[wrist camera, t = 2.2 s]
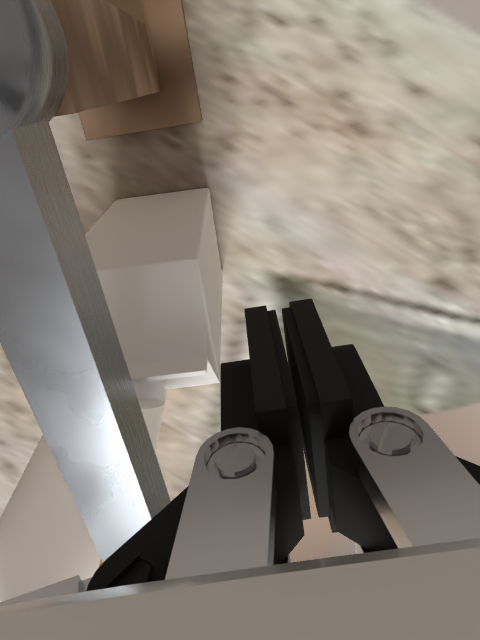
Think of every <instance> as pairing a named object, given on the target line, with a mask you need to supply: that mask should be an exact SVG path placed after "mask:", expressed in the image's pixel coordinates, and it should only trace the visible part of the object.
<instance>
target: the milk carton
mask: <svg viewBox="0 0 480 640" xmlns="http://www.w3.org/2000/svg"><path fill="white" fill-rule="evenodd" d="M85 237H86V240H87V243H88V246H89V249H90V252H91V256H92V259H93V262H94V265H95V268H96V271H97V274H98V277H99V280H100V283H101V287H102V290H103V293H104V296H105V299H106V302H107V305H108V308H109V311H110V315H111V318H112V321H113V324H114V327H115V330H116V333H117V336H118V339H119V342H120V346H121V349H122V352H123V355H124V358H125V361H126V364H127V367H128V370H129V374H130V377H131V380H132V383H133V386H134V389H135V392H136V395H137V398H138V402H139V405H140V408H141V410H144V409H152V408H157V407H160V406H162V405H164V404H165V394H164V390H165V389H172V388H180V387H189V386H198V385H206V384H214V383H219V382H220V348H221V309H222V270H221V263H220V257H219V250H218V244H217V237H216V231H215V224H214V218H213V211H212V205H211V198H210V192H209V189H208V188H201V189H193V190H185V191H178V192H170V193H163V194H155V195H147V196H140V197H132V198H125V199H119V200H116V201H115V202H114V203H113V204H112V205H111V206H110V207H109V208H108V210H107V211H106V212H105V213H104V214H103V215H102V216H101V217H100V219H99V220H98V221H97V222H96V223H95V224H94V225H93V226H92V228H91V229H90V230H89V231H88V232H87V233H86V234H85Z"/></svg>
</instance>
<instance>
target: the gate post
mask: <svg viewBox="0 0 480 640" xmlns="http://www.w3.org/2000/svg"><path fill="white" fill-rule="evenodd" d="M49 1H50V3H51V5H52V6H53V8H54V10H55V12H56V14H57V16H58V18H59V21H60V23H61V26H62V29H63V32H64V35H65V39H66V43H67V47H68V55H69V78H68V85H67V89H66V93H65V96H64V99H63V101H62V104H61V106H60V108H59V109H58V111H57V112H56V114H55V115H54V117H55V116H61V115H67V114H73V113H77V112H78V113H79V116H80V119H81V123H82V126H83V130H84V133H85V137H86V140H87V141H88V140H94V139H100V138H106V137H112V136H118V135H124V134H130V133H136V132H142V131H148V130H154V129H160V128H166V127H172V126H178V125H184V124H190V123H196V122H202V115H201V109H200V104H199V98H198V92H197V86H196V81H195V75H194V69H193V64H192V58H191V52H190V46H189V41H188V35H187V29H186V23H185V18H184V12H183V6H182V1H181V0H49Z"/></svg>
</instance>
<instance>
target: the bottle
mask: <svg viewBox="0 0 480 640" xmlns="http://www.w3.org/2000/svg"><path fill="white" fill-rule="evenodd" d="M164 394H165V400H166V394H167V389H165V390H164ZM164 405H165V404H164ZM164 405H162V406H160V407H157V408H152V409H144V410H141V411H142V414H143V417H144V420H145V423H146V426H147V429H148V433H149V436H150V439H151V442H152V445H153V448H154V451H155V452H156V447H157V441H158V436H159V431H160V426H161V421H162V415H163V410H164ZM100 560H101V557H100V555H99V553H98V551H97V549H96V547H95V544H94V542H93V540H92V538H91V536H90V534H89V532H88V529H87V527H86V525H85V523H84V521H83V519H82V517H81V514H80V512H79V510H78V508H77V506H76V504H75V502H74V499H73V497H72V495H71V493H70V491H69V489H68V486H67V484H66V482H65V480H64V478H63V476H62V474H61V471H60V469H59V467H58V465H57V463H56V461H55V459H54V456H53V454H52V452H51V450H50V448H49V446H48V444H47V441H46V439H45V437H44V435H43V436H42V438H41V440H40V442H39V444H38V446H37V448H36V450H35V451H34V453H33V455H32V457H31V459H30V461H29V463H28V465H27V467H26V469H25V471H24V473H23V475H22V477H21V479H20V481H19V483H18V485H17V487H16V489H15V491H14V492H13V494H12V496H11V498H10V500H9V502H8V504H7V506H6V508H5V510H4V512H3V515H2V517H1V519H0V602H3V601H6V600H9V599H11V598H14V597H17V596H20V595H23V594H26V593H28V592H31V591H34V590H37V589H40V588H43V587H45V586H48V585H51V584H54V583H57V582H59V581H62V580H65V579H68V578H71V577H74V576H76V575H79V576H80V578H81V580H85V579H88V578H91V577H93V575H94V573H95V571H96V570H97V569H98V568H99V564H100Z"/></svg>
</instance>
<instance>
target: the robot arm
mask: <svg viewBox="0 0 480 640" xmlns="http://www.w3.org/2000/svg"><path fill="white" fill-rule="evenodd" d="M289 305H290V308H284V309H282V316H283V324H284V332H285V341H286V349H287V357H288V362H287V357H286V353H285V349H284V345H283V340H282V336H281V332H280V328H279V323H278V319H277V315H276V311H275V310H271V311H267V309H266V306H260V307H253V308H247V309H245V318H246V327H247V337H248V346H249V356H250V359H248V360H241V361H235V362H228V363H221V432H218V433H216V434H215V435H213V436H212V437H210V438H209V439H207V440H206V441H205V442H204V444H203V445H202V446H201V447H200V449H199V451H198V453H197V455H196V459H195V463H194V467H193V471H192V475H191V479H190V483H189V486H188V487H187V488H186V489H185V490H184V491H182V492H181V493H180V494H179V495H178V496H177V497H176V498H175V499H173V500H172V501H171V502H170V503H169V504H168V505H167V506H166V507H165V508H163V509H162V510H161V511H160V512H159V513H158V514H157V515H156V516H154V517H153V518H152V519H151V520H150V521H149V522H148V523H147V524H145V525H144V526H143V527H142V528H141V529H140V530H139V531H138V532H136V533H135V534H134V535H133V536H132V537H131V538H130V539H129V540H127V541H126V542H125V543H124V544H123V545H122V546H121V547H120V548H118V549H117V550H116V551H115V552H114V553H113V554H112V555H111V556H109V557H108V558H107V559H106V560H105V561H104V562H103V563H102V565H101V566H100V567H99V568H98V569H97V570H96V571H95V573H94V575H93V577H91V578H88V579H85V580H81V578H80V576H79V575H76V576H74V577H71V578H68V579H65V580H62V581H59V582H57V583H54V584H51V585H48V586H45V587H43V588H40V589H37V590H34V591H31V592H28V593H26V594H23V595H20V596H17V597H14V598H11V599H9V600H6V601H3V602H0V640H480V466H478V465H476V464H473V463H471V462H468V461H466V460H463V459H461V458H459V457H456V456H455V455H454V454H453V453H452V452H451V451H450V450H449V448H448V447H447V446H446V445H445V444H444V442H443V441H442V440H441V439H440V438H439V437H438V435H437V434H436V433H435V432H434V431H433V429H432V428H431V427H430V426H429V425H428V424H427V423H426V422H425V421H424V420H423V419H422V418H421V417H420V416H418V415H416V414H414V413H412V412H410V411H408V410H404V409H400V408H397V407H384V405H383V403H382V401H381V399H380V397H379V395H378V393H377V391H376V389H375V387H374V385H373V383H372V381H371V379H370V377H369V375H368V373H367V371H366V369H365V367H364V365H363V363H362V361H361V359H360V357H359V355H358V352H357V350H356V348H355V347H354V345H352V344H349V345H342V346H335V347H331V345H330V342H329V340H328V337H327V335H326V332H325V330H324V327H323V325H322V323H321V320H320V318H319V315H318V313H317V310H316V308H315V305H314V303H313V301H312V299H306V300H299V301H293V302H290V303H289ZM288 365H289V366H288ZM303 450H304V452H303ZM304 454H305V458H306V463H307V467H308V471H309V476H310V481H311V485H312V489H313V494H314V499H315V503H316V508H317V511H318V516H319V517H327V516H328V517H329V521H330V526H331V530H332V533H334V532H339V533H341V534H343V535H344V536H346V537H348V538H349V539H351V540H353V541H354V544H355V550H356V553H357V554H353V555H345V556H338V557H330V558H322V559H315V560H308V561H300V562H293V563H291V560H290V554H289V553H290V552H291V551H292V550H293V549H294V547H295V546H296V545H297V544H298V542H299V541H300V540H301V539H302V537H303V536H304V528H303V521H302V520H305V519H311V514H310V506H309V496H308V487H307V479H306V471H305V461H304Z"/></svg>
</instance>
